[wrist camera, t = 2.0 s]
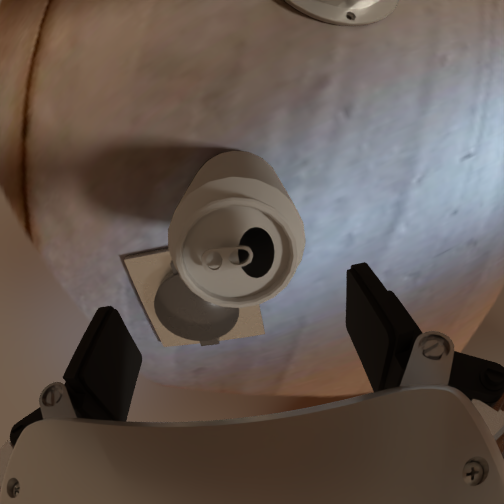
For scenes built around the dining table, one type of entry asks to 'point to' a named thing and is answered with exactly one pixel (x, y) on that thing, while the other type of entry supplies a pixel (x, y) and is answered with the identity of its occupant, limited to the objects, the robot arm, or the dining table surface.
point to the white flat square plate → (185, 305)
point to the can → (236, 232)
